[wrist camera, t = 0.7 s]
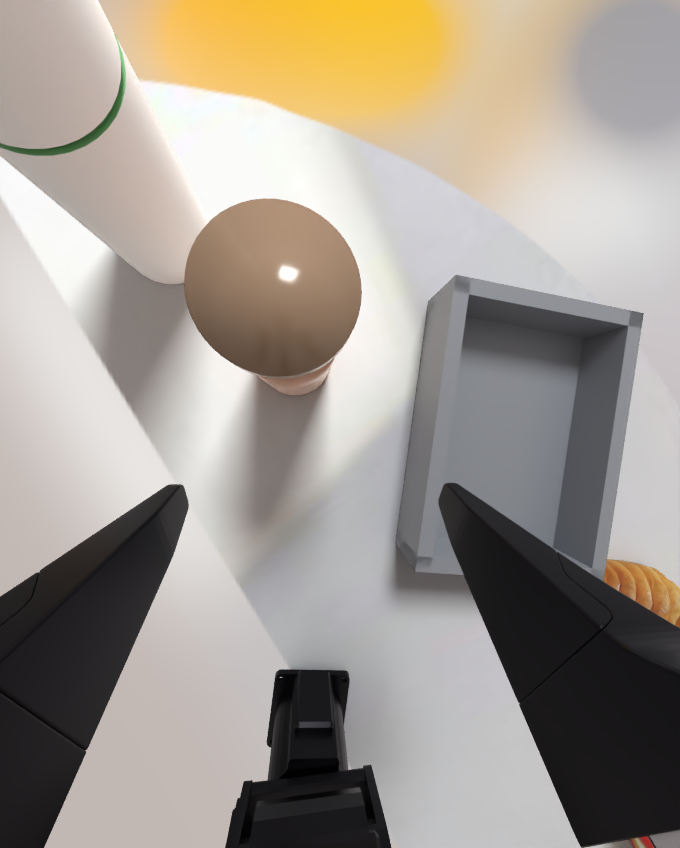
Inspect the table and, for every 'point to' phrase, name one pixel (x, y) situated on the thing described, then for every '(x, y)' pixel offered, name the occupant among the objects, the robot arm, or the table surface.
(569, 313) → the tray
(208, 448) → the table surface
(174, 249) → the cylindrical container
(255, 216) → the brown tapered round piece
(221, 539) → the table surface
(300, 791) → the robot arm
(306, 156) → the table surface
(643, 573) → the pastry
